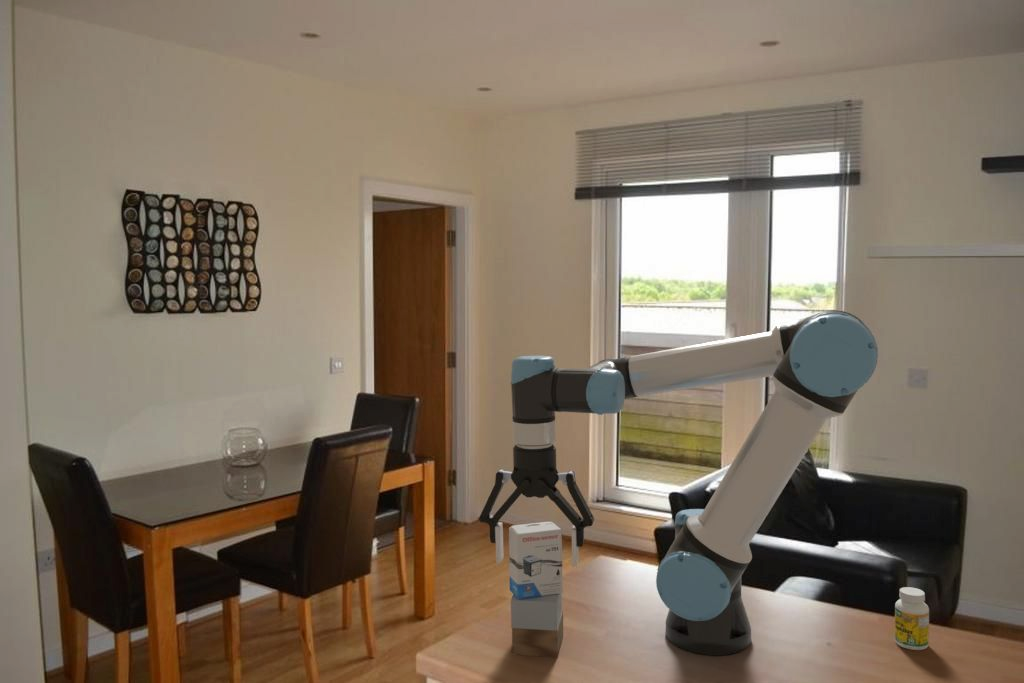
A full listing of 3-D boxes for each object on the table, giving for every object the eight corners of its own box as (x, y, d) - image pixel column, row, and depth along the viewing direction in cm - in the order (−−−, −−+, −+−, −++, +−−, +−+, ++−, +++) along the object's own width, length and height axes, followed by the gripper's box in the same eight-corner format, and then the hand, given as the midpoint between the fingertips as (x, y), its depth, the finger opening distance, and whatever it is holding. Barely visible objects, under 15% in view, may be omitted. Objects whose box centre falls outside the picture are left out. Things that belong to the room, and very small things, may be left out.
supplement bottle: (935, 647, 140) (936, 594, 139) (913, 653, 138) (914, 599, 137) (909, 634, 145) (910, 583, 144) (887, 640, 143) (888, 588, 142)
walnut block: (563, 637, 146) (563, 610, 146) (557, 658, 139) (557, 630, 138) (520, 634, 148) (519, 608, 147) (512, 654, 140) (511, 627, 140)
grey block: (561, 611, 146) (561, 584, 145) (557, 630, 138) (556, 602, 138) (518, 608, 147) (518, 582, 147) (511, 627, 139) (510, 600, 139)
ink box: (517, 600, 139) (516, 534, 138) (508, 589, 143) (507, 525, 142) (563, 593, 141) (563, 528, 140) (553, 583, 146) (552, 520, 145)
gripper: (607, 440, 141) (609, 557, 143) (470, 438, 146) (474, 551, 148) (603, 450, 134) (605, 573, 136) (459, 447, 139) (463, 566, 141)
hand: (537, 562), depth 142 cm, fingers open, 13 cm apart
